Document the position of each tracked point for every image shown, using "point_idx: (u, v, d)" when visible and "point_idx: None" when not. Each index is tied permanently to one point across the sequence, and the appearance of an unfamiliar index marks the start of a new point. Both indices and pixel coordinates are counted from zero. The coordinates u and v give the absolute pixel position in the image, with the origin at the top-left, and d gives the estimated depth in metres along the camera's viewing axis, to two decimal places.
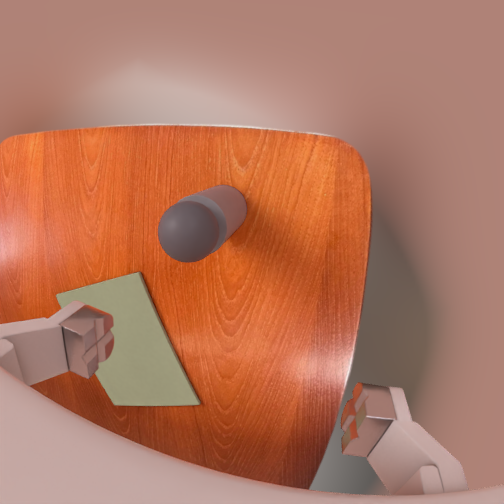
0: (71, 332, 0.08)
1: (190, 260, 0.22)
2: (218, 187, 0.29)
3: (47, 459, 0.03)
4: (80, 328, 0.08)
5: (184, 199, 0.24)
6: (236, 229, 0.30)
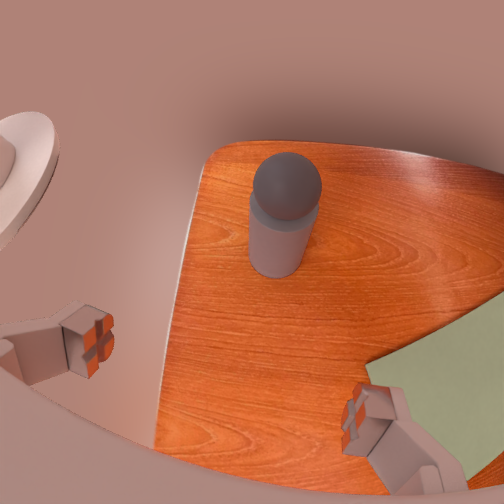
0: (71, 332, 0.08)
1: (316, 169, 0.19)
2: None
3: (47, 459, 0.03)
4: (80, 328, 0.08)
5: (254, 212, 0.21)
6: None
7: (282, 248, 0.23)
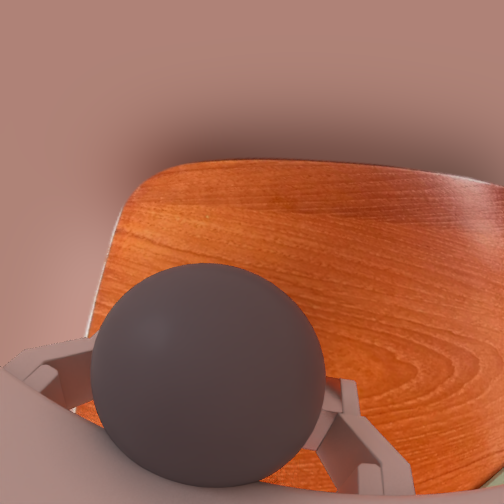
0: None
1: (311, 343, 0.05)
2: None
3: (47, 459, 0.03)
4: None
5: None
6: None
7: None
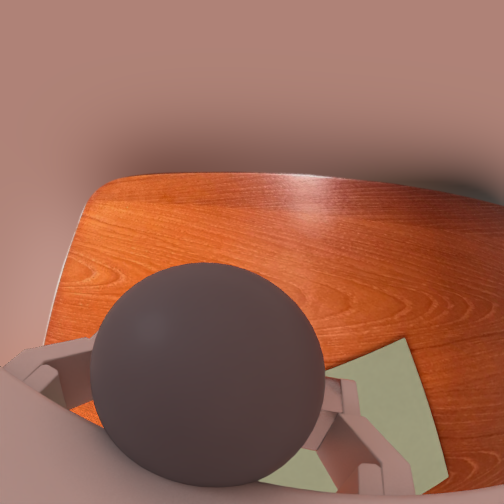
0: None
1: (311, 342, 0.05)
2: None
3: (47, 459, 0.03)
4: None
5: None
6: None
7: None
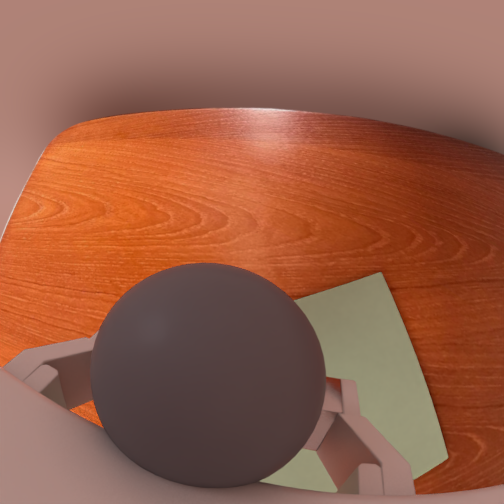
0: None
1: (311, 343, 0.05)
2: None
3: (47, 459, 0.03)
4: None
5: None
6: None
7: None
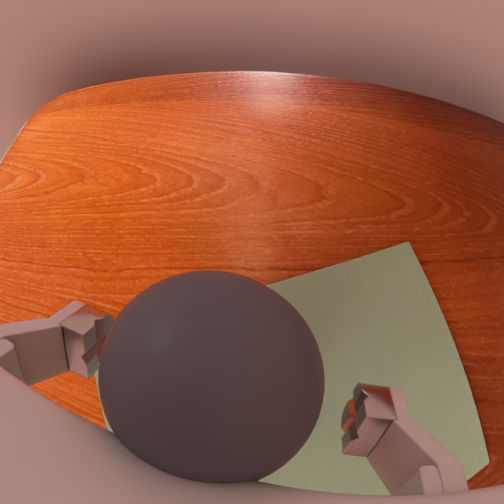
0: (71, 332, 0.08)
1: (310, 348, 0.05)
2: None
3: (47, 459, 0.03)
4: (80, 328, 0.08)
5: None
6: None
7: None
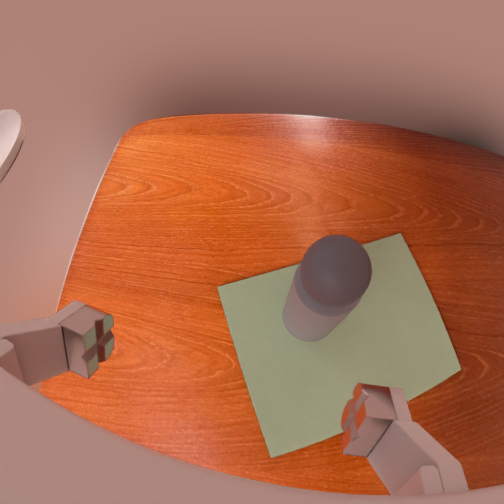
0: (71, 332, 0.08)
1: (368, 255, 0.18)
2: (285, 305, 0.26)
3: (47, 459, 0.03)
4: (80, 328, 0.08)
5: (299, 295, 0.20)
6: None
7: (325, 325, 0.22)
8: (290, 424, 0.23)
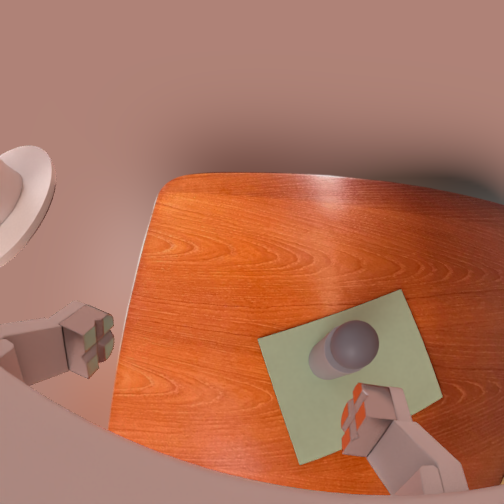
0: (71, 332, 0.08)
1: (377, 335, 0.26)
2: (312, 355, 0.33)
3: (47, 459, 0.03)
4: (80, 328, 0.08)
5: (328, 359, 0.28)
6: None
7: (343, 375, 0.29)
8: (314, 440, 0.31)
